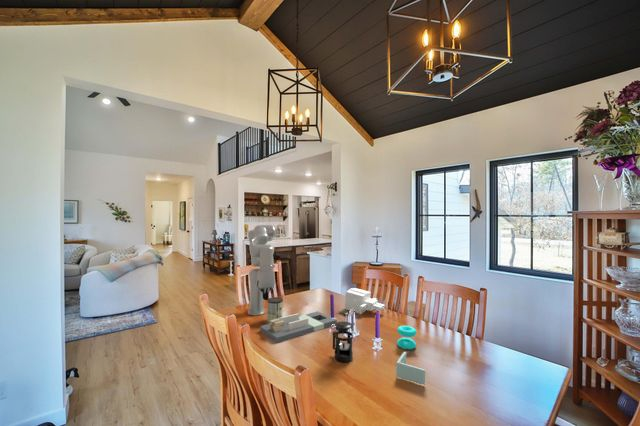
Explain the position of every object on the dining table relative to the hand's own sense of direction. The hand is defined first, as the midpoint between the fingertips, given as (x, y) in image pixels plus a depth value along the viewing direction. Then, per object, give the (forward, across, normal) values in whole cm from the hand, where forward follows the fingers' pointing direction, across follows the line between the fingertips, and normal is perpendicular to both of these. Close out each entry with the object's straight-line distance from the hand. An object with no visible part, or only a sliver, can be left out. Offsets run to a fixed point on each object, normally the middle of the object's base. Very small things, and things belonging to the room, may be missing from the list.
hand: (265, 299), depth 164 cm
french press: (+22, -20, +44) cm, 53 cm away
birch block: (+19, -8, 0) cm, 21 cm away
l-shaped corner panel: (+23, -35, +75) cm, 85 cm away
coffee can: (+22, -18, -20) cm, 35 cm away
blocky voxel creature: (+22, -81, +4) cm, 84 cm away
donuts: (+22, -57, +56) cm, 83 cm away
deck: (+22, -24, 0) cm, 33 cm away
